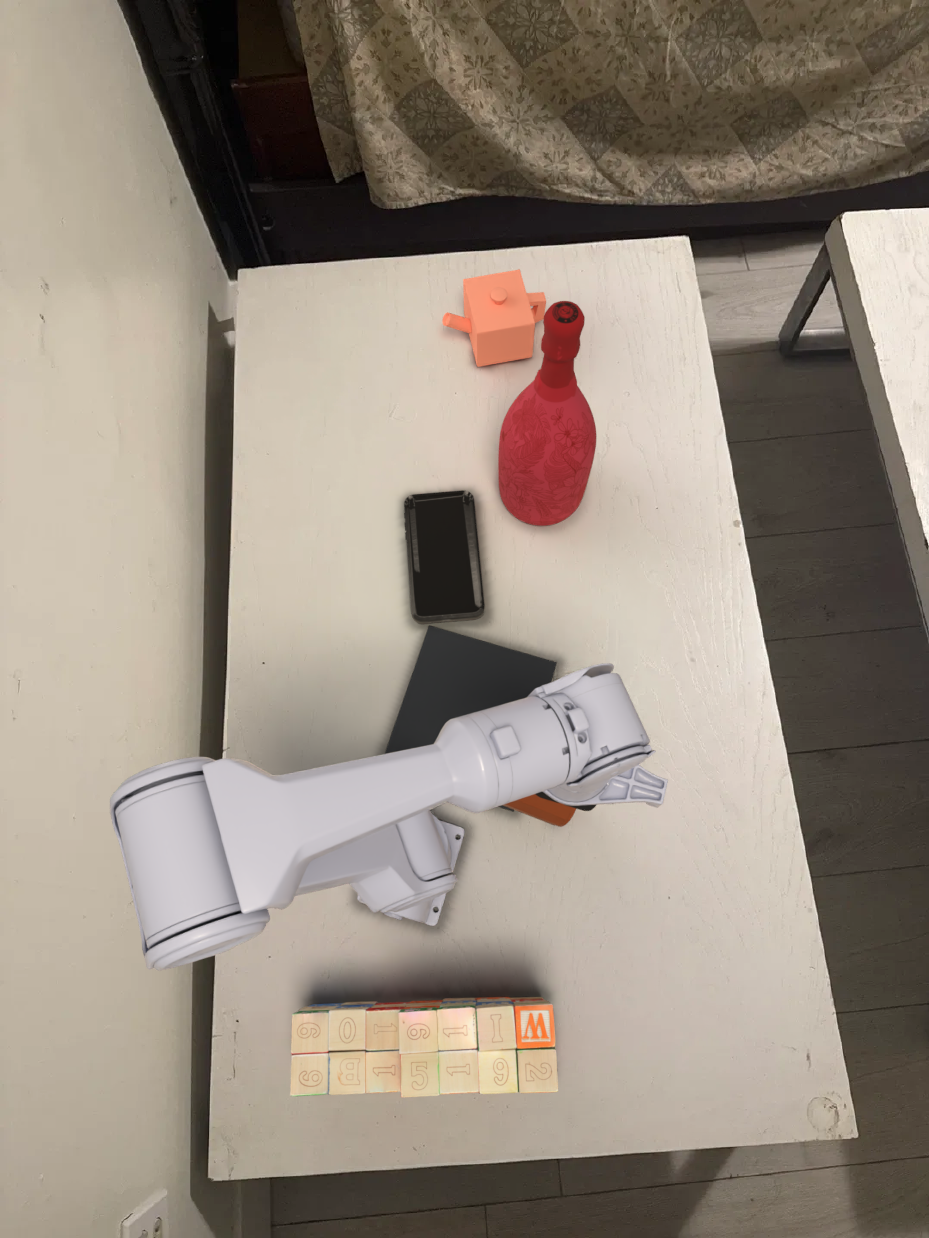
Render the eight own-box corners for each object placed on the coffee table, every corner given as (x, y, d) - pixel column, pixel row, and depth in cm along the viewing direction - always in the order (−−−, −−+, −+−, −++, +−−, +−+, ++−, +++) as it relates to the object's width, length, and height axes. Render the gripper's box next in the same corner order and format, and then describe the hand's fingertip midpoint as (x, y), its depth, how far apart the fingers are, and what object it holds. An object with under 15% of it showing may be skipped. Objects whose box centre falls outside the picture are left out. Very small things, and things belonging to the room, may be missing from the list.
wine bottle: (585, 531, 96) (629, 363, 68) (496, 530, 97) (503, 362, 68) (583, 454, 100) (624, 263, 72) (497, 453, 100) (504, 262, 72)
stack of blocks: (309, 1079, 78) (279, 1103, 66) (311, 1002, 80) (282, 1013, 69) (548, 1070, 78) (560, 1093, 66) (543, 994, 80) (554, 1003, 69)
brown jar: (571, 827, 81) (467, 787, 78) (549, 826, 85) (450, 787, 83) (584, 780, 83) (483, 738, 80) (562, 781, 87) (465, 741, 84)
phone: (473, 489, 97) (485, 615, 92) (473, 494, 98) (485, 618, 93) (402, 495, 97) (410, 621, 92) (403, 500, 98) (411, 625, 93)
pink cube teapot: (438, 324, 106) (434, 276, 99) (534, 307, 107) (538, 258, 99) (450, 377, 104) (448, 331, 96) (548, 359, 104) (554, 312, 97)
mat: (513, 811, 86) (514, 811, 85) (379, 770, 88) (379, 769, 87) (556, 663, 91) (556, 662, 91) (429, 626, 93) (429, 625, 92)
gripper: (688, 730, 64) (655, 764, 77) (499, 676, 66) (498, 718, 79) (667, 823, 62) (637, 842, 75) (472, 765, 64) (475, 793, 76)
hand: (564, 784), depth 77 cm, fingers closed
